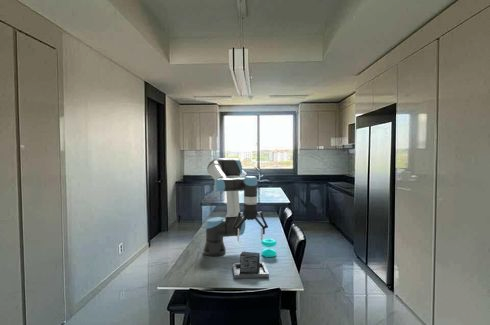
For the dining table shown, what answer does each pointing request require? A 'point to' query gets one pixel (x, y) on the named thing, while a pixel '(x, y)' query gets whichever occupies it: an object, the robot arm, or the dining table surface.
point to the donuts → (268, 244)
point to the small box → (249, 262)
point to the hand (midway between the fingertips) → (250, 240)
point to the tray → (261, 274)
